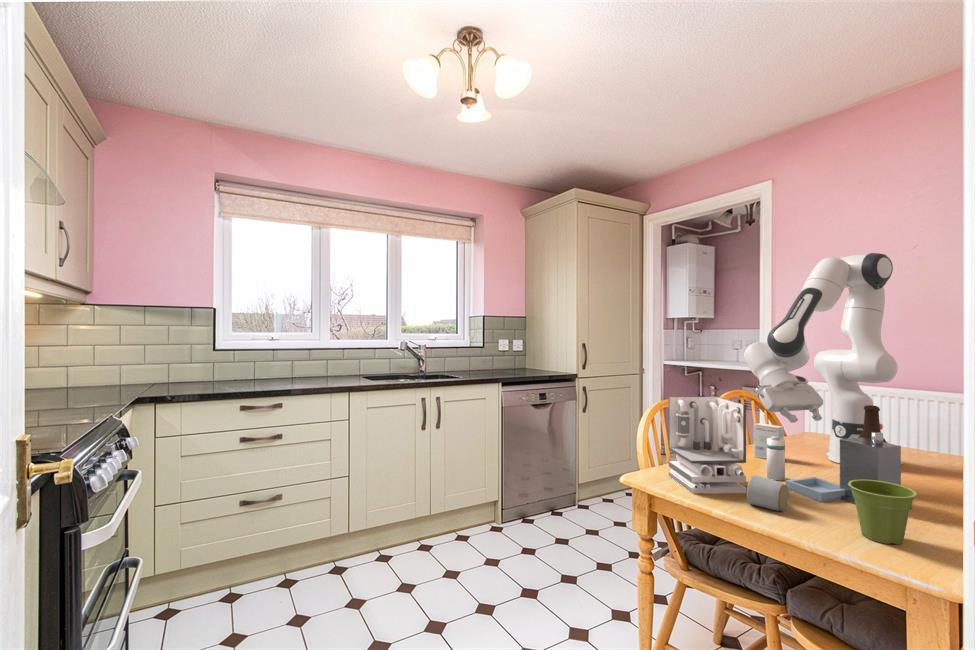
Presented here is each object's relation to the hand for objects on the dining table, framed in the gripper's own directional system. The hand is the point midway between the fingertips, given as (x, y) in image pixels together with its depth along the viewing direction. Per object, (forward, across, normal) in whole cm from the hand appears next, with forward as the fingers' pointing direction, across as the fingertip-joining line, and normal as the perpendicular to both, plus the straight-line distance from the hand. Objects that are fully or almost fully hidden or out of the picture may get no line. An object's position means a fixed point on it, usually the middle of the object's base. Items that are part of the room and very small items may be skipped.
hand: (807, 420), depth 147 cm
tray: (+20, -7, +6) cm, 22 cm away
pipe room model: (+9, -32, +17) cm, 37 cm away
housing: (+26, 0, 0) cm, 26 cm away
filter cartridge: (+10, -7, +16) cm, 20 cm away
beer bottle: (+20, +12, +6) cm, 24 cm away
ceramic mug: (+22, -28, +4) cm, 36 cm away
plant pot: (+38, -20, -12) cm, 45 cm away
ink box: (-4, +10, +30) cm, 32 cm away
